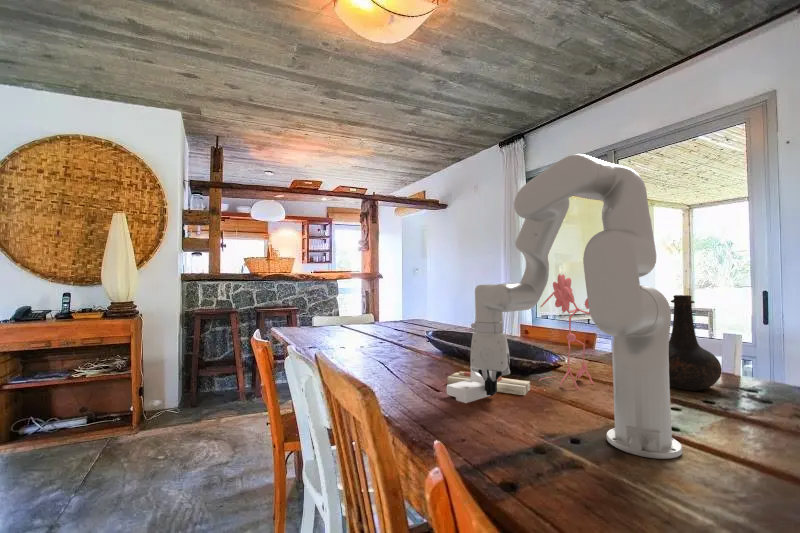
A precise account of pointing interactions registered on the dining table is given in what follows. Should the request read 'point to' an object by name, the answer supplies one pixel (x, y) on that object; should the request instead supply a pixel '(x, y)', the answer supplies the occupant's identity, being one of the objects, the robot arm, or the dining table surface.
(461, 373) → the pencil
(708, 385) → the glass bottle
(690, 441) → the dining table surface
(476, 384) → the bracket
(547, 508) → the dining table surface
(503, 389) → the board
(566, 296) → the figurine
